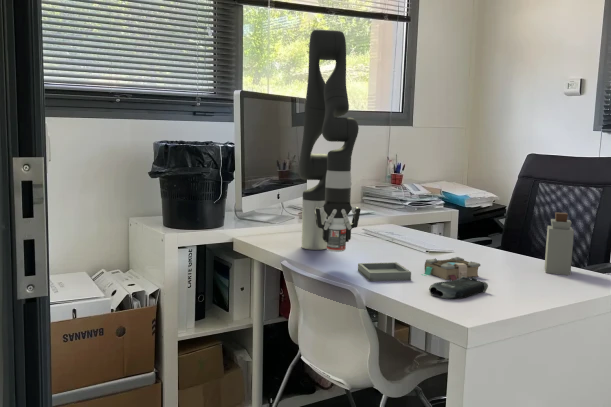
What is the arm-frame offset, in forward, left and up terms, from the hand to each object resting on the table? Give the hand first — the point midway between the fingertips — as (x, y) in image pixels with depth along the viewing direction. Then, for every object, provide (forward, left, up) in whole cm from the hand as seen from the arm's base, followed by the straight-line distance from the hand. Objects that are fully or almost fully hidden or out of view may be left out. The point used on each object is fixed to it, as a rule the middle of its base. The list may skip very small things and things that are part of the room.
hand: (336, 241), depth 172 cm
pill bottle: (0, 0, -3) cm, 3 cm away
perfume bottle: (+10, +67, -9) cm, 68 cm away
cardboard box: (+11, +31, -9) cm, 35 cm away
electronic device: (+29, +25, -9) cm, 39 cm away
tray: (+9, +12, -8) cm, 17 cm away
